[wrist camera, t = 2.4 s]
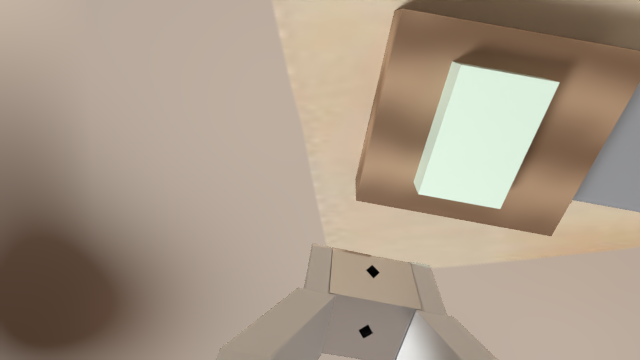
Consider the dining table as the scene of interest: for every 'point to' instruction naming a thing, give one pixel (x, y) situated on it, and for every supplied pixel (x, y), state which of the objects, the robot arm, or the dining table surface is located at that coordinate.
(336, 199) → the dining table surface
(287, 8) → the dining table surface
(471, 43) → the board
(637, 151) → the mat
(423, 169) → the mint green block
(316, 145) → the dining table surface
